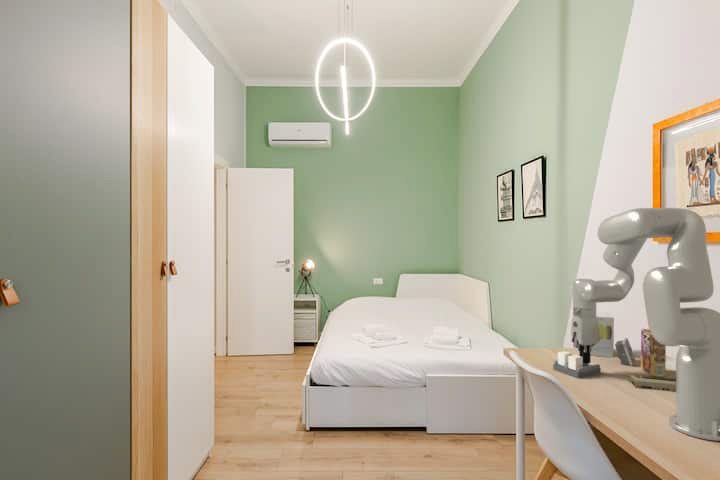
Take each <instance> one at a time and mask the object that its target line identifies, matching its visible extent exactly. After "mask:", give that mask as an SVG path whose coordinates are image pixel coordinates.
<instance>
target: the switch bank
mask: <svg viewBox="0 0 720 480" xmlns="http://www.w3.org/2000/svg"><path fill="white" fill-rule="evenodd" d="M552 367H553V371H557V372H559V373H562V374H565V375H567V376H571V377H573V378H575V379H580V378H585V377H591V376H594V375H595V376H596V375H599V374H601V371H602V369H601V364H599V363H598V364H597V363H596V364H590V363H588V364H586V363H583V367H578V368H576V370H573V369H570V368H568V364H564V366H562V365H559V364H558V359H557V360H553V364H552Z"/></svg>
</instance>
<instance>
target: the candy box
mask: <svg viewBox="0 0 720 480" xmlns="http://www.w3.org/2000/svg"><path fill="white" fill-rule="evenodd" d="M640 330H641V331H640V333H641V334H640V335H641V336H640V338H641V339H640V341H641V342H640V369H641V370H642V371H644V372H645V373H647V374H649V375H651V377H663V378H666V363H667V362H666V358H667V357H666V354H667V351H666V350H667V346H665V345H662V344H660V343H659V342H657V341H656V340H655V339H654V338H653V336H652V334H651V332H650V329H649V328H641V329H640Z"/></svg>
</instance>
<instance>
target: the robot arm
mask: <svg viewBox="0 0 720 480" xmlns="http://www.w3.org/2000/svg"><path fill="white" fill-rule="evenodd" d="M597 237H598V240H599V242H601V243H603V244H604V245H607V247H606V248H605V250H604V252H603V254H602V258H603V261H604V262H605V263H606V264H607V265H609V266H610V267H611V268H613V269H616V270H618V271H617V273H616V275H615V276H614V278H613V279H609V280H607V279H606V280H594V279H592V278H591V279H590V278H577V279H574V280H573V282H572V320H571V325H570V326H571V329H570V330H571V331H570V338H571V343H573V348H576V349H577V351H578V352H579V356H581V357H583V363H586V364H590V363H591V356H590V352H591V351H592V347H593V346H594V345H596V344H597V343H599V342H600V329H599V322H598V317H597V316H596V313H597V303H615V302H617V303H619V302H620V301H623V300H624V299H625V298H627V296H628V294H629V293H630V292H631V290H632V288H633V286H634V283H635V272H634V267H632V265H633V263H634V261H635V259H636V258H637V257H638V254H639V253H640V251H641V250H642V248H643V247H644V245H645V243H646V242H647V240H648V239H664V238H665V239H667V238H668V239H671V240H670V241H669V243H668V245H667V249H666V258H667V262H668V263H667V264H668V266H658V267H655V268H652V269H650V270H649V271H648V272H647V273H646V275H645V276H644V278H643V282H642V292H643V298H644V299H643V300H644V306H645V313H646V319H647V326H648V329H650V332H651V334H652V336H653V338H654V339H655V340H656V341H657V342H659V343H660V344H662V345H665V346H666V347H679V349H678V350H677V353H676V360H675V379H676V392H675V396H676V397H675V403H676V404H675V405H676V406H675V409H676V410H675V414H674V415H671V416H670V417H669V418H668V424H669V425H670V426H671V427H672V428H673V429H675V430H676V431H679V432H681V433H683V434H685V435H688V436H690V437H695V438H698V439H702V440H707V441H714V442H715V441H716V442H719V441H720V312H719V311H717V310H715V309H712V308H709V307H699V306H698V307H695V306H694V307H681V304H682V303H683V304H684V303H699V302H703V301H707V300H709V299H711V298H712V296H714V295H713V294H714V287H715V286H714V280H713V276H712V269H711V264H710V259H709V254H708V249H707V248H708V247H707V229H706V223H705V221H704V219H703V218H702V216H700V215H699V213H697V212H695V211H693V210H690V209H687V208H679V207H678V208H677V207H655V208H654V207H650V208H649V207H646V208H645V207H644V208H643V207H638V208H633V209H630V210H629V209H628V210H626V211H623V212H621V213H617V214H615V215H612V216H610V217H607V218H605V219H604V220H602V222H601V223H600V225H599V227H598V228H597Z"/></svg>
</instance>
